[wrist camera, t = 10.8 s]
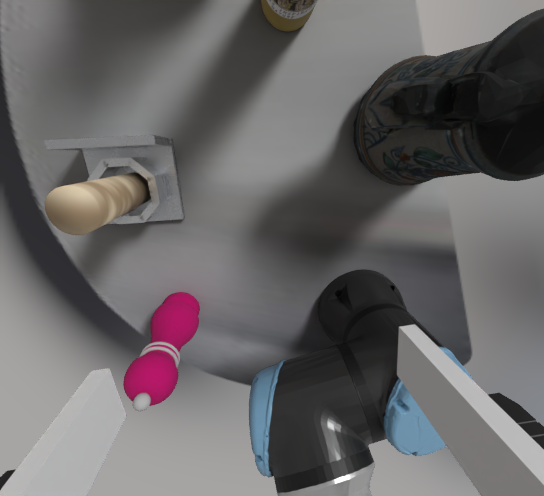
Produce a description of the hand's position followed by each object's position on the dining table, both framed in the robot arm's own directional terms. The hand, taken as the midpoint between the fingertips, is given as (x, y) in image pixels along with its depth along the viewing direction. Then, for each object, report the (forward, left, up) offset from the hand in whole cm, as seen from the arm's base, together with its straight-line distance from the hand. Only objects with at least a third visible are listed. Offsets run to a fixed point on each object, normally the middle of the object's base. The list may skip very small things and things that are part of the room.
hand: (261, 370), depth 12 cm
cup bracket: (+5, +16, -33) cm, 37 cm away
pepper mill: (-16, +13, -33) cm, 39 cm away
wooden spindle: (+5, +16, -32) cm, 36 cm away
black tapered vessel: (+12, -23, -33) cm, 41 cm away
